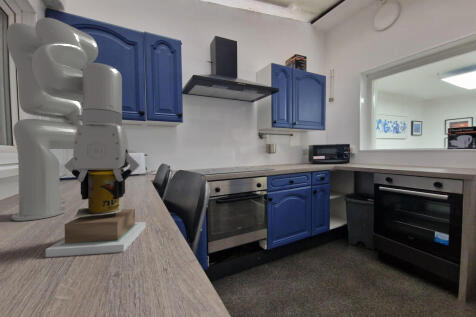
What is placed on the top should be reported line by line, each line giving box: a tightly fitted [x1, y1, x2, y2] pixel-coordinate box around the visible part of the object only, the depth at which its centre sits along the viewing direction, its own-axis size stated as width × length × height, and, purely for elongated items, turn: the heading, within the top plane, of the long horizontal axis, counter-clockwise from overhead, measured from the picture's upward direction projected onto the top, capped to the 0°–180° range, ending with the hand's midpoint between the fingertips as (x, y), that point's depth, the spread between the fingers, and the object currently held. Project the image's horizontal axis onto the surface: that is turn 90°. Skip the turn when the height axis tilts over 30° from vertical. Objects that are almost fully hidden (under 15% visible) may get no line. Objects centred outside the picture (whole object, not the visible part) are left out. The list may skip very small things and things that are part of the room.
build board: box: [45, 221, 147, 258], centre depth 46 cm, size 14×14×2 cm
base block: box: [64, 208, 136, 244], centre depth 46 cm, size 10×10×4 cm
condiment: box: [74, 170, 122, 219], centre depth 46 cm, size 7×8×12 cm
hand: (103, 197), depth 46 cm, fingers closed on condiment, 6 cm apart
